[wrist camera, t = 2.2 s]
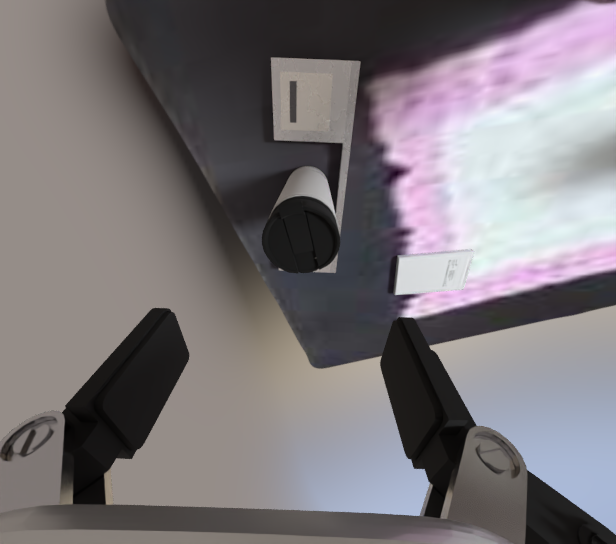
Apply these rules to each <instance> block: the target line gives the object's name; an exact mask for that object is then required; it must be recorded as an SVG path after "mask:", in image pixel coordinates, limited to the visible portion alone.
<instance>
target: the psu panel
mask: <svg viewBox="0 0 616 544" xmlns="http://www.w3.org/2000/svg"><path fill="white" fill-rule="evenodd" d="M360 63H361V61H347V60H322V59H298V58H274V57H271V72H272V98H273V124H274V140H282V141H306V142H329V143H342V148H341V158H340V168H339V178H338V188H337V198H336V208H335V214H336V219H337V223H338V230H339V235H340V231H341V223H342V214H343V206H344V197H345V189H346V181H347V172H348V164H349V155H350V147H351V138H352V130H353V122H354V113H355V105H356V96H357V88H358V80H359V71H360ZM337 256H338V253H337ZM337 256H336V257H335V259H334V260H333V261H332V262H331V263H330V264H329V265H328V266H326V267H324V268H322V269H320V270H319V269H318V270H316V271H313V272H328V273H336V265H337ZM279 270H282V269H280V268H279ZM282 271H284V270H282Z"/></svg>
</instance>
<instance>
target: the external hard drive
mask: <svg viewBox="0 0 616 544" xmlns="http://www.w3.org/2000/svg"><path fill="white" fill-rule="evenodd" d="M473 256H474V251H473V250H472V249H466V250H455V251H443V252H432V253H420V254H409V255H398V256H397V264H396V273H395V283H394V294H395V295H402V294H414V293H427V292H440V291H452V290H463V289H464V286H465V283H466V279H467V276H468V273H469V270H470V266H471V263H472V260H473Z"/></svg>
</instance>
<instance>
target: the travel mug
mask: <svg viewBox="0 0 616 544" xmlns="http://www.w3.org/2000/svg"><path fill="white" fill-rule="evenodd" d="M262 245H263V249H264V252H265V254H266V256H267V257H268V258H269V260H270V261H271V262H272V263H273V264H274V265H275V266H277V267H278V268H280V269H282V270H284V271H287V272H290V273H299V272H300V273H309V272H313V271H316V270H318V269H319V270H320V269H322V268H324V267H326V266H328V265H329V264H330V263H331V262H332V261H333V260H334V259H335V257H336V256H337V253H338V251H339V247H340V235H339V230H338V223H337V219H336V214H335V210H334V206H333V202H332V198H331V193H330V189H329V185H328V181H327V178H326V176H325V175H324V174H323V172H322V171H320V170H319V169H317V168H316V167H313V166H302V167H299V168H298V169H296V170H295V171H294V172H292V174H291V175H290V177H289V179H288V180H287V182H286V184H285V186H284V188H283V190H282V192H281V194H280V196H279V198H278V200H277V202H276V204H275V206H274V208H273V210H272V212H271V214H270V216H269V219H268V221H267V223H266V226H265V228H264V230H263V234H262Z"/></svg>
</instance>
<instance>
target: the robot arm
mask: <svg viewBox="0 0 616 544" xmlns="http://www.w3.org/2000/svg"><path fill="white" fill-rule="evenodd" d="M188 360H189V352H188V349H187V346H186V343H185V341H184V338H183V335H182V332H181V330H180V327H179V324H178V321H177V319H176V316H175V314H174V313H173V312H171V310H170V309H167V308H153V309H152V310H150V312H149V313H148V314H147V315H146V316H145V317H144V318H143V319H142V320H141V321H140V323H139V324H138V325H137V326H136V327H135V328H134V329H133V331H132V332H131V333H130V334H129V335H128V336H127V337H126V338H125V340H124V341H123V342H122V343H121V344H120V345H119V346H118V347H117V348H116V349H115V351H114V352H113V353H112V354H111V355H110V356H109V358H108V359H107V360H106V361H105V362H104V363H103V364H102V365H101V366H100V367H99V369H98V370H97V371H96V372H95V373H94V374H93V375H92V376H91V377H90V379H89V380H88V381H87V382H86V383H85V384H84V385H83V386H82V388H81V389H80V390H79V391H78V392H77V393H76V394H75V396H74V397H73V398H72V399H71V400H70V401H69V402H68V403H67V404H66V405H65V406H66V409H65V410H64V411H63V412H62V413H61V412H59V411H48V412H44V413H41V414H38V415H35V416H33V417H31V418H29V419H27V420H26V421H24V422H22V423H21V424H19V425H18V426H17V427H15V428H14V429H12V430H11V431H10V432H9V433H8V434H7V435H6V436H5V437H4V438H3V439H2V440H1V441H0V544H616V535H615V534H614V533H613V532H611V531H610V530H609V529H608V528H606V527H605V526H604V525H602V524H601V523H600V522H598V521H597V520H595V519H594V518H593V517H591V516H590V515H589V514H587V513H586V512H584V511H583V510H582V509H580V508H579V507H577V506H576V505H575V504H573V503H572V502H571V501H569V500H568V499H567V498H565V497H564V496H562V495H561V494H560V493H558V492H557V491H555V490H554V489H553V488H551V487H550V486H549V485H547V484H546V483H545V482H543V481H542V480H540V479H539V478H538V477H536V476H535V475H533V474H532V473H531V472H529V471H528V470H527V469H526V465H525V463H524V461H523V458H522V456H521V455H520V453H519V452H518V450H517V449H516V448H515V446H514V445H513V444H512V443H511V442H510V441H509V440H508V439H506V438H505V437H504V436H502V435H501V434H500V433H498V432H497V431H495V430H493V429H491V428H488V427H484V426H476V424H475V422H474V420H473V419H472V417H471V415H470V413H469V411H468V409H467V408H466V406H465V404H464V402H463V401H462V399H461V397H460V395H459V393H458V391H457V390H456V388H455V386H454V384H453V382H452V381H451V379H450V377H449V375H448V373H447V371H446V370H445V368H444V366H443V364H442V362H441V361H440V359H439V357H438V355H437V354H436V353H435V352H434V351H433V350H431V349H430V347H429V346H428V344H427V342H426V340H425V338H424V336H423V334H422V332H421V331H420V329H419V327H418V325H417V323H416V321H415V320H414V319H413V318H404V317H399V318H398V319H397V321H393V323H392V326H391V329H390V333H389V336H388V339H387V342H386V345H385V348H384V351H383V355H382V358H381V362H380V366H381V370H382V374H383V377H384V381H385V384H386V388H387V391H388V395H389V398H390V402H391V405H392V409H393V413H394V416H395V420H396V423H397V426H398V430H399V434H400V437H401V441H402V444H403V448H404V451H405V454H406V456H407V458H408V459H411V460H412V463H413V467H414V469H425V471H426V474H427V477H428V480H429V482H430V485H429V488H428V491H427V494H426V497H425V501H424V504H423V507H422V510H421V513H420V516H409V515H392V514H375V513H351V512H326V511H325V512H324V511H300V510H272V509H243V508H211V507H180V506H179V507H178V506H145V505H113V495H112V494H113V493H112V480H111V466H112V464H113V463H114V461H115V459H116V458H125V459H132V458H133V456H134V454H135V452H136V450H137V449H140V448H141V447H142V446H143V444H144V443H145V440H146V439H147V437H148V435H149V433H150V431H151V430H152V428H153V426H154V424H155V422H156V420H157V418H158V416H159V414H160V413H161V411H162V409H163V407H164V405H165V403H166V401H167V400H168V398H169V396H170V394H171V392H172V390H173V388H174V386H175V385H176V383H177V381H178V379H179V377H180V375H181V373H182V372H183V370H184V368H185V366H186V364H187V362H188Z"/></svg>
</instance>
